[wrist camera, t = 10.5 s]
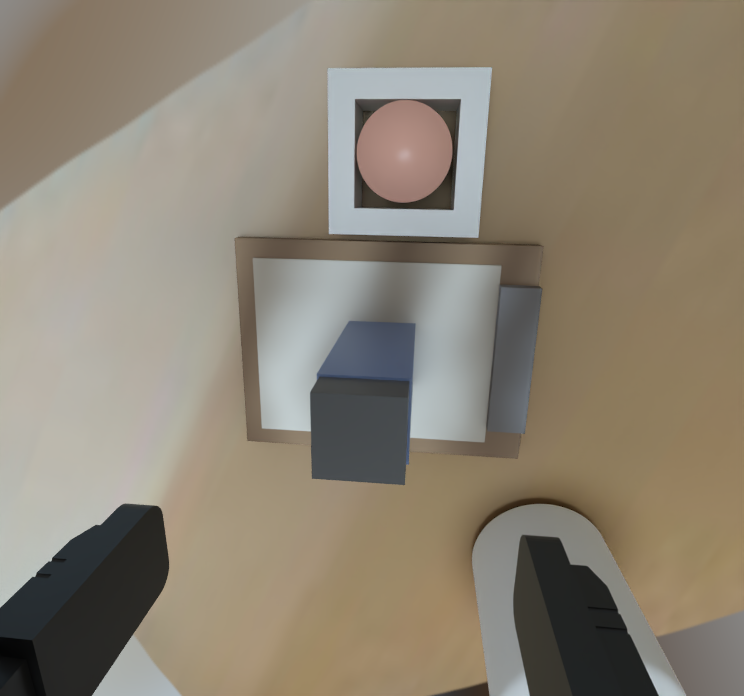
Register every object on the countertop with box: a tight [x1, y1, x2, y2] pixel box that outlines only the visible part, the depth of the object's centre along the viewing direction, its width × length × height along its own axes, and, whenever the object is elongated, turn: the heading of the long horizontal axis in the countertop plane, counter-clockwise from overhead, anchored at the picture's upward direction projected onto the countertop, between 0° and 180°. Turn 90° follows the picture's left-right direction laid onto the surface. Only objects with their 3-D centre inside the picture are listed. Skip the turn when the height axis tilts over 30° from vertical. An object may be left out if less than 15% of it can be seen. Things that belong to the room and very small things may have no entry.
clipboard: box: [235, 237, 543, 459], centre depth 27 cm, size 16×12×2 cm
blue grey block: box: [310, 321, 416, 485], centre depth 22 cm, size 4×4×10 cm
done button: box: [357, 100, 452, 203], centre depth 22 cm, size 4×4×3 cm
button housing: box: [328, 67, 492, 238], centre depth 23 cm, size 7×7×3 cm
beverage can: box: [472, 504, 686, 696], centre depth 25 cm, size 8×8×12 cm
